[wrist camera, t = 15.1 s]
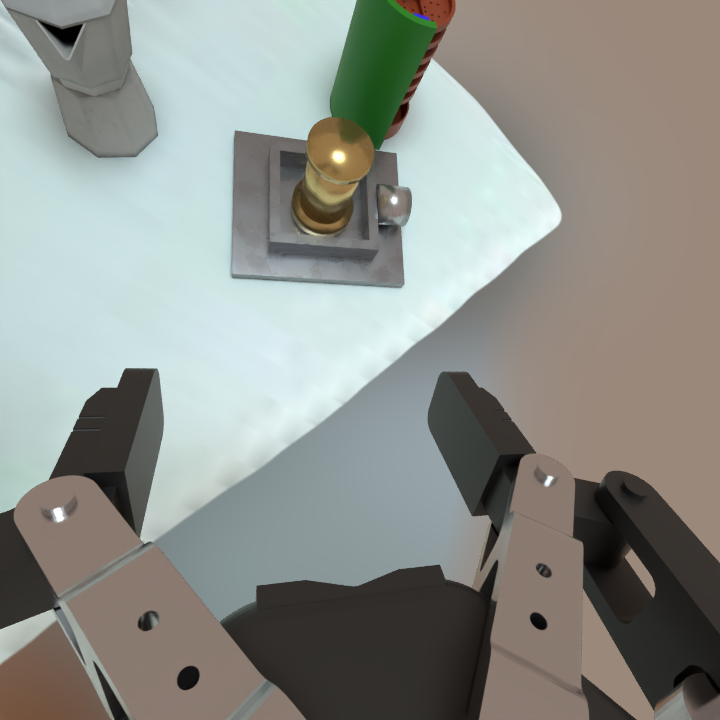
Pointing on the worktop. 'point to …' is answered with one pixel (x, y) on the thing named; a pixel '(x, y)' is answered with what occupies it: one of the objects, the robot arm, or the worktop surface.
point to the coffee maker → (91, 71)
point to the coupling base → (293, 245)
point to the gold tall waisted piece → (331, 176)
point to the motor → (386, 61)
